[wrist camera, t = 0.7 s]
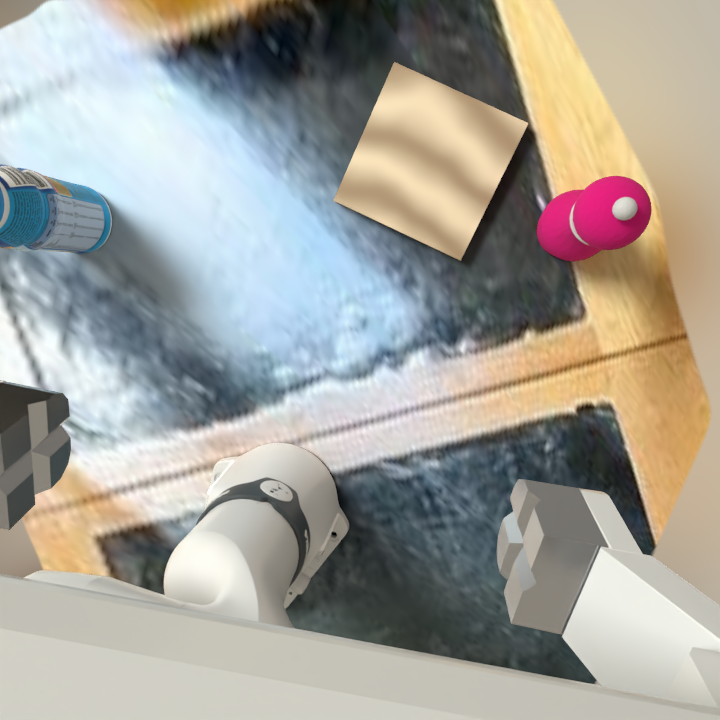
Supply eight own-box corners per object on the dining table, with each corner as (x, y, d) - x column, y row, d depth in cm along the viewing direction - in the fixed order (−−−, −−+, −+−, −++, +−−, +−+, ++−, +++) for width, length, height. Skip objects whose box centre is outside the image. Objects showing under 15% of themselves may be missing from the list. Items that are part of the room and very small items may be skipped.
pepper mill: (611, 216, 61) (698, 187, 42) (575, 273, 63) (643, 272, 43) (554, 184, 61) (613, 140, 42) (519, 242, 63) (561, 226, 43)
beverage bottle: (122, 247, 69) (0, 234, 49) (62, 261, 70) (-82, 254, 50) (105, 178, 68) (-27, 137, 48) (44, 193, 69) (-110, 159, 49)
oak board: (459, 260, 64) (460, 260, 62) (335, 202, 65) (333, 200, 63) (526, 127, 61) (528, 123, 59) (395, 67, 62) (394, 61, 60)
